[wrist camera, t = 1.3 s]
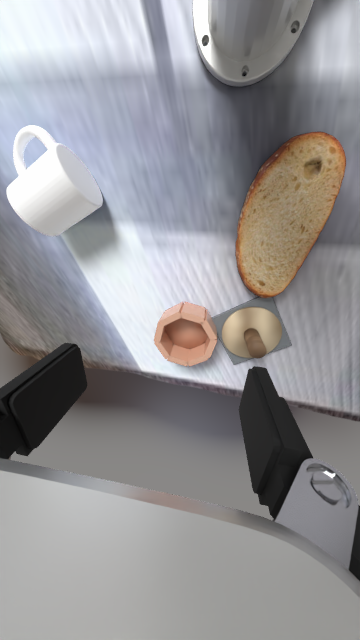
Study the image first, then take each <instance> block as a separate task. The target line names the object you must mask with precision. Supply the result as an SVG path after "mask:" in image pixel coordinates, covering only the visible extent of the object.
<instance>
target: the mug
mask: <svg viewBox="0 0 360 640" xmlns="http://www.w3.org/2000/svg"><path fill="white" fill-rule="evenodd" d="M34 137H36V138H38V139H39V140H40V141H41V142H42V143H43V144H44V145H45V146H46V148H47V149H48V151H47V152H46V153H44V154H43V155H42V156H41V157H40V158H39V159H38V160H37V161H36V162H34V163H33V164H32V165H31V166H30V167H29V168H28V169H27V167H26V165H25V162H24V150H25V148H26V146H27V144H28V143H29V142H30V140H31V139H33V138H34ZM13 158H14V164H15V167H16V170H17V173H18V175H19V177H18V178H17V179H16V180H14V181H13V182H12V183H11V184H10V185H9V186H8V188H7V197H8V200H9V202H10V204H11V206H12V207H13V209H14V210H15V212H16V213H17V214H18V215H19V217H20V218H21V219H22V220H23V221H24V222H26V223H27V224H28V225H29V226H30V227H32V228H33V229H35V230H36V231H38V232H40V233H42V234H44V235H47V236H58V235H60V234H61V233H63V232H64V231H66V230H67V229H69V228H70V227H72V226H73V225H75V224H76V223H78V222H79V221H81V220H82V219H84V218H85V217H87V216H88V215H90V214H91V213H93V212H94V211H95V210H97V209H98V208H100V207H101V206H102V204H103V197H102V194H101V191H100V189H99V186H98V184H97V182H96V181H95V179H94V177H93V176H92V174H91V173H90V171H89V170H88V168H87V167H86V166H85V164H84V163H83V162H82V161H81V160H80V158H79V157H78V156H77V155H76V154H75V153H74V152H73V151H71V150H70V149H69V148H68V147H66V146H64V145H62V144H59V143H56V142H55V140H54V139H53V138H52V136H51V135H50V134H49V133H48V132H47V131H45V130H44V129H42V128H41V127H38V126H34V125H31V126H26V127H24V128H22V129H21V130H20V131H19V132H18V134H17V136H16V138H15V142H14V148H13Z"/></svg>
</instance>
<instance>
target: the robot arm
mask: <svg viewBox="0 0 360 640" xmlns="http://www.w3.org/2000/svg"><path fill="white" fill-rule="evenodd" d="M313 2H314V0H193V24H194V33H195V38H196V44H197V47H198V50H199V53H200V56H201V58H202V60H203V62H204V64H205V66H206V68H207V69H208V70H209V71H210V73H211V74H212V75H213V76H214V77H215V78H217V79H218V80H219V81H221V82H222V83H225V84H227V85H230V86H238V87H241V86H247V85H251V84H254V83H256V82H258V81H261V80H262V79H264V78H265V77H266V76H268V75H269V74H271V73H272V72H273V71H274V70H275V69H276V68H277V67H278V66H279V65H280V64H281V63H282V62H283V60H284V59H285V58H286V57H287V55H288V54H289V53H290V51H291V50H292V48H293V46H294V45H295V43H296V41H297V39H298V38H299V36H300V34H301V31H302V29H303V27H304V25H305V23H306V21H307V18H308V15H309V13H310V10H311V7H312V5H313ZM292 32H293V33H292ZM205 45H207V46H205ZM204 46H205V47H204ZM243 74H245V75H246V76H245V77H244V76H242V75H243ZM86 387H87V381H86V375H85V371H84V366H83V361H82V356H81V351H80V348H79V347H78V346H77V345H76V344H71V343H64V344H63V345H61V346H60V347H58V348H57V349H55V350H54V351H53V352H51V353H50V354H48V355H47V356H45V357H44V358H43V359H41V360H40V361H39V362H37V363H36V364H34V365H33V366H31V367H30V368H29V369H27V370H26V371H24V372H23V373H21V374H20V375H19V376H17V377H16V378H14V379H13V380H12V381H10V382H9V383H7V384H6V385H4V386H3V387H2V388H0V640H360V506H359V505H358V498H357V496H356V493H355V491H354V489H353V488H352V486H351V485H350V483H349V482H348V481H347V480H346V478H345V477H344V476H343V475H342V474H341V473H340V472H339V471H338V470H336V469H335V468H334V467H333V466H331V465H329V464H328V463H326V462H324V461H321V460H318V459H313V457H312V454H311V452H310V450H309V448H308V446H307V444H306V442H305V440H304V438H303V436H302V434H301V432H300V430H299V428H298V425H297V423H296V421H295V419H294V417H293V415H292V413H291V411H290V409H289V407H288V405H287V403H286V401H285V399H284V398H282V397H279V396H278V393H277V391H276V389H275V387H274V385H273V382H272V380H271V378H270V376H269V373H268V371H267V369H266V368H263V367H255V366H254V367H253V368H252V369H249V370H248V374H247V378H246V382H245V386H244V390H243V395H242V399H241V403H240V407H239V413H240V420H241V426H242V431H243V437H244V443H245V448H246V454H247V460H248V465H249V471H250V477H251V482H252V488H253V491H254V493H257V494H258V497H259V502H260V504H261V505H266V506H268V507H269V511H270V515H271V516H272V517H273V520H272V521H271V520H269V519H266V518H264V517H261V516H257V515H254V514H250V513H247V512H244V511H241V510H237V509H232V508H228V507H224V506H220V505H216V504H212V503H208V502H204V501H199V500H195V499H191V498H186V497H182V496H177V495H173V494H168V493H163V492H159V491H154V490H150V489H145V488H140V487H135V486H131V485H127V484H122V483H117V482H113V481H108V480H103V479H98V478H94V477H89V476H84V475H80V474H75V473H70V472H65V471H61V470H55V469H51V468H46V467H41V466H37V465H31V464H27V463H22V462H17V461H12V460H10V459H11V455H12V454H13V453H14V452H15V451H16V453H17V454H20V455H24V456H28V455H29V454H30V452H31V451H32V450H33V449H34V448H37V447H38V446H39V445H40V444H41V443H42V441H43V440H44V439H45V438H46V437H47V435H48V434H49V433H50V432H51V431H52V429H53V428H54V427H55V426H56V425H57V423H58V422H59V421H60V420H61V419H62V417H63V416H64V415H65V414H66V412H67V411H68V410H69V409H70V407H71V406H72V405H73V404H74V403H75V402H76V401H77V399H78V398H79V397H80V396H81V394H82V393H83V392H84V391H85V389H86Z"/></svg>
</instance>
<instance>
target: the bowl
mask: <svg viewBox="0 0 360 640" xmlns="http://www.w3.org/2000/svg"><path fill="white" fill-rule="evenodd" d="M154 341H155V343H154V344H155V345H156V346H157V348H158V349H159V351H160V352H161V354H162V355H163V356H164V358H165V359H167V358H168V360H167V361H170V362H174V363H177V364H180V365H183V366H188V365H189V367H190V366H192V365H195V364H198V363H201V362H203V361H206V360H208V358H210V357H211V354H212V352H213V350H214V347H215V345H216V343H217V329H216V326H215V324H214V322H213V320H212V317H211V315H210V314H209V312H208V310H207V309H206V310H205V307H201V306H198V305H195V304H191V303H188V302H185V303H183V302H181V303H180V304H178V305H176V306H174V307H172V308H170V309H168V310H166V311H165V312H164V313H163V315H162V317H161V318H160V320H159V322H158V325H157V329H156V334H155V338H154Z"/></svg>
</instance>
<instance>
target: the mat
mask: <svg viewBox="0 0 360 640" xmlns="http://www.w3.org/2000/svg"><path fill="white" fill-rule="evenodd" d="M246 307H261V308H264V309H267V310H269V311H271V312H272V313H273V314H274V315H275V316H276V317H277V318H278V320H279V321H280V323H281V326H282V336H281V339H280V341H279V343H278V345H277V346H276V347H275V348H274V349H273V350H272V351H270V352H273V351H276V350H279V349H282V348H285V347H288V346H291V345H292V344H291V342H290V339H289V337H288V334H287V332H286V329H285V327H284V324H283V322H282V320H281V317H280V315H279V312H278V310H277V307H276V305H275V302H274V300H273V298H272V297H270V298H261V297H260V296H259V297H257V298H255V299H253V300H250V301H248V302H246V303H244V304H241V305H239V306H237V307H235V308H232V309H230V310H228V311H226V312H223V313H221V314H219V315H217V316H214V317H212V320H213V322H214V324H215V326H216V329H217V335H218V337H219V339H220V341H221V343H222V344H223V346H224V348H225V350H226V352H227V353H228V355H229V357H230V359H231V361H232V362H233V364H234V365H235V364H238V363H241V362H244V361H247V360H250V359H253V358H245V357H240V356H237V355H235V354H233V353H232V352H230V351H229V350H228V349H227V348H226V346H225V345H224V342H223V339H222V327H223V325H224V323H225V321H226V319H227V318H228V317H229V316H230V315H231V314H232V313H234V312H235V311H237V310H239V309H242V308H246ZM270 352H269V353H270Z"/></svg>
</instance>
